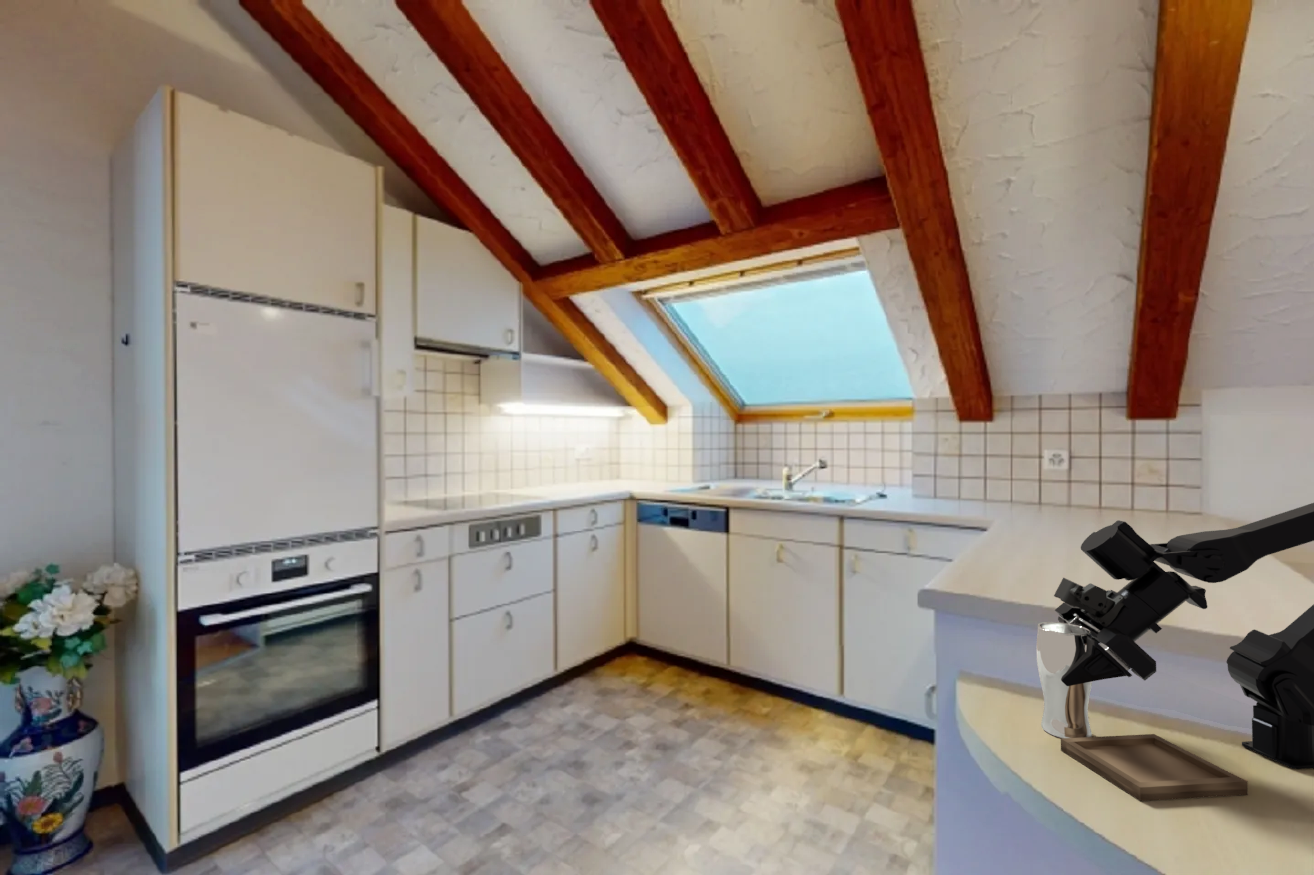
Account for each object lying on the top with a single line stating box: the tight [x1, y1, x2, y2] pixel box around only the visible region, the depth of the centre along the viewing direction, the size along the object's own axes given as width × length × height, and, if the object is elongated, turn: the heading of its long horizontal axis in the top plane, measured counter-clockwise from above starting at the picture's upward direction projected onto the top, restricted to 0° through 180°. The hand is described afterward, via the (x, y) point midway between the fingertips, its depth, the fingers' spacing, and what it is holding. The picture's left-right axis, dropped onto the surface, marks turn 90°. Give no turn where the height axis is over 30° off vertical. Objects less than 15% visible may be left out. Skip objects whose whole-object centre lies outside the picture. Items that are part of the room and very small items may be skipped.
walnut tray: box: [1060, 733, 1249, 802], centre depth 76 cm, size 14×12×2 cm
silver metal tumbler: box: [1035, 621, 1093, 739], centre depth 87 cm, size 7×7×15 cm
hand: (1054, 674), depth 88 cm, fingers closed on silver metal tumbler, 7 cm apart
